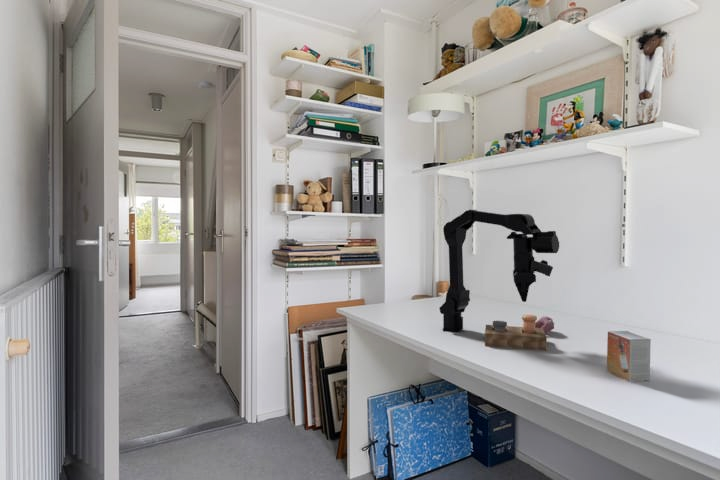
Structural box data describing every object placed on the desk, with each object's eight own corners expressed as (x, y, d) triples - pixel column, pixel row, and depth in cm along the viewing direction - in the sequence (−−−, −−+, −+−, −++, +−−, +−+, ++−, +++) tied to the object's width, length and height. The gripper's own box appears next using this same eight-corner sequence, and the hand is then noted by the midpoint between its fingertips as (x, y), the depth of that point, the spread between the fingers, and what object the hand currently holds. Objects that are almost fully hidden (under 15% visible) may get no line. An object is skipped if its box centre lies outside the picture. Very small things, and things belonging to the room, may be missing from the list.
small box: (606, 370, 107) (606, 330, 107) (626, 370, 108) (626, 330, 107) (628, 382, 99) (629, 339, 99) (650, 381, 100) (651, 338, 99)
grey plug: (492, 342, 134) (492, 323, 133) (492, 338, 138) (492, 320, 138) (506, 343, 132) (506, 324, 132) (506, 339, 136) (506, 321, 136)
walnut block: (484, 345, 131) (484, 333, 131) (485, 336, 142) (485, 324, 142) (546, 350, 125) (546, 337, 125) (542, 340, 136) (542, 328, 136)
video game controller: (548, 341, 141) (558, 323, 140) (536, 334, 142) (546, 316, 141) (541, 333, 151) (551, 317, 150) (530, 327, 152) (539, 311, 151)
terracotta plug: (522, 336, 131) (522, 317, 130) (521, 333, 135) (521, 314, 135) (537, 337, 129) (537, 318, 129) (536, 334, 133) (536, 315, 133)
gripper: (553, 254, 120) (555, 307, 120) (547, 251, 138) (549, 297, 138) (513, 254, 124) (514, 306, 124) (512, 251, 141) (513, 297, 142)
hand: (524, 301), depth 132 cm, fingers closed
